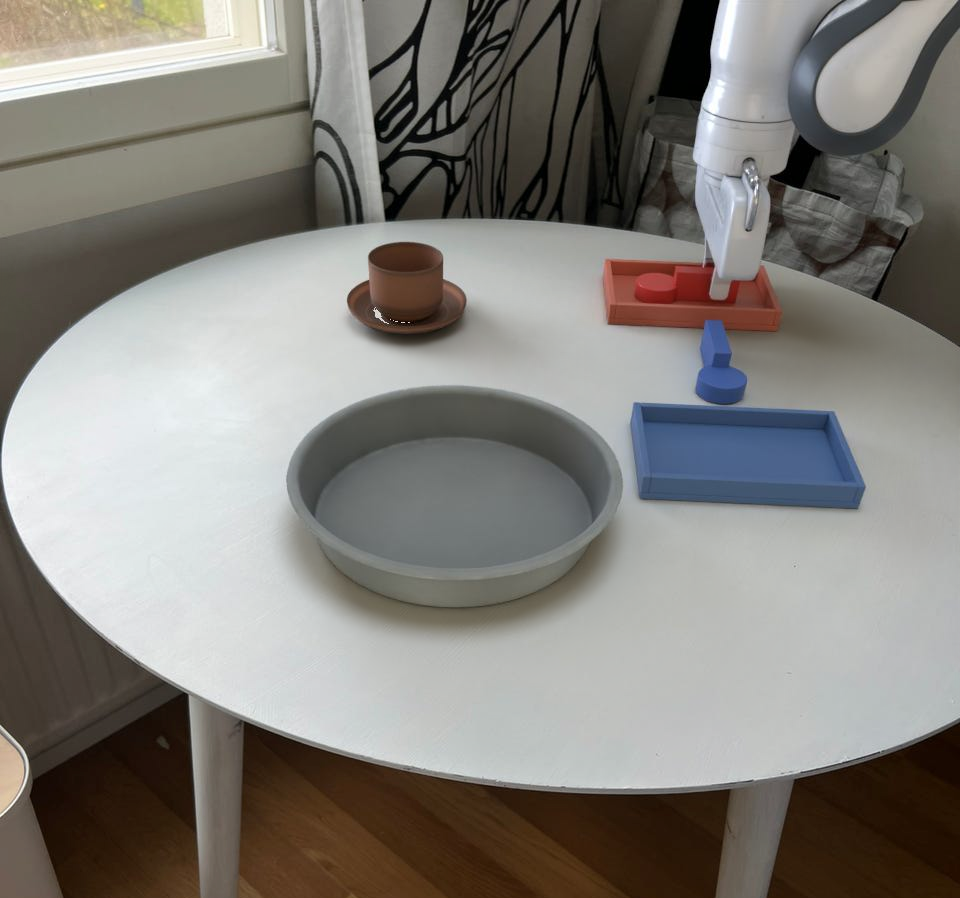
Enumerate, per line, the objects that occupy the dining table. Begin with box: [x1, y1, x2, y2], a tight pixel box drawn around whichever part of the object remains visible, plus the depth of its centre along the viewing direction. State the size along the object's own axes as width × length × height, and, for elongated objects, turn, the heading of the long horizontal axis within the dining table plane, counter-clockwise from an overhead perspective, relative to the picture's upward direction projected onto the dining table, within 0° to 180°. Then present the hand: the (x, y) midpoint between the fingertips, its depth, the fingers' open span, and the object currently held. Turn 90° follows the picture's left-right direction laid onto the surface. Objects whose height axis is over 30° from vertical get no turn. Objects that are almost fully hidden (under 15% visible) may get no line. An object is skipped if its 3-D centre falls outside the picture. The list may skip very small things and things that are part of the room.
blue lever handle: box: [694, 320, 748, 405], centre depth 88 cm, size 10×4×3 cm, turn 177°
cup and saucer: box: [346, 241, 468, 335], centre depth 94 cm, size 12×12×6 cm
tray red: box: [602, 258, 783, 332], centre depth 100 cm, size 17×11×2 cm, turn 87°
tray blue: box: [630, 401, 867, 510], centre depth 78 cm, size 17×11×2 cm, turn 87°
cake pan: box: [285, 384, 624, 608], centre depth 71 cm, size 25×25×4 cm
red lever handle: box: [635, 266, 740, 304], centre depth 99 cm, size 10×4×3 cm, turn 87°
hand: (713, 286), depth 99 cm, fingers open, 4 cm apart
